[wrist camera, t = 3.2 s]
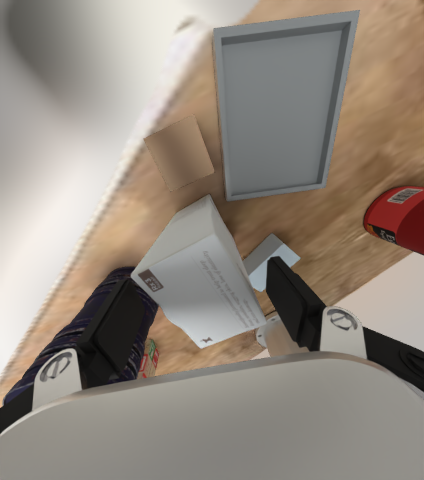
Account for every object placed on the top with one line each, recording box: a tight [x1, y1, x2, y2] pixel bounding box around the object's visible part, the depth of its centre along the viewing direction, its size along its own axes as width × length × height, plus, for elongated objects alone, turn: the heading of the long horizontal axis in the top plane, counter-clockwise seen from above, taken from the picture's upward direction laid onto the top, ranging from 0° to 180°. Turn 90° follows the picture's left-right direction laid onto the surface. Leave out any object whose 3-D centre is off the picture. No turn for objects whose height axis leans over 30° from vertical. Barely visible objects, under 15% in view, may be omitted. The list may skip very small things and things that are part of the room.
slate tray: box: [212, 10, 360, 201], centre depth 17 cm, size 13×15×2 cm
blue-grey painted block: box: [242, 233, 301, 292], centre depth 24 cm, size 8×4×4 cm, turn 141°
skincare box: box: [131, 194, 267, 348], centre depth 16 cm, size 8×6×15 cm
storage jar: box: [2, 267, 159, 406], centre depth 20 cm, size 10×10×15 cm
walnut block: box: [144, 114, 215, 192], centre depth 17 cm, size 5×5×5 cm
